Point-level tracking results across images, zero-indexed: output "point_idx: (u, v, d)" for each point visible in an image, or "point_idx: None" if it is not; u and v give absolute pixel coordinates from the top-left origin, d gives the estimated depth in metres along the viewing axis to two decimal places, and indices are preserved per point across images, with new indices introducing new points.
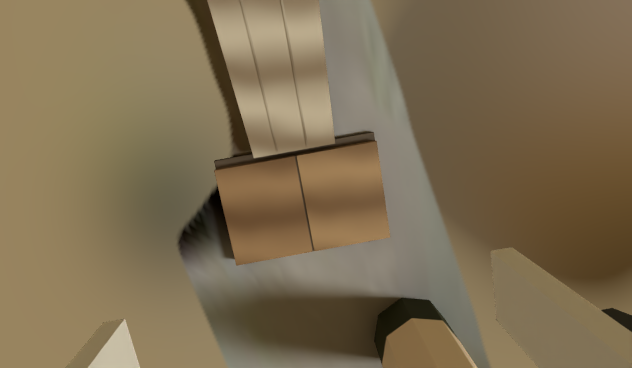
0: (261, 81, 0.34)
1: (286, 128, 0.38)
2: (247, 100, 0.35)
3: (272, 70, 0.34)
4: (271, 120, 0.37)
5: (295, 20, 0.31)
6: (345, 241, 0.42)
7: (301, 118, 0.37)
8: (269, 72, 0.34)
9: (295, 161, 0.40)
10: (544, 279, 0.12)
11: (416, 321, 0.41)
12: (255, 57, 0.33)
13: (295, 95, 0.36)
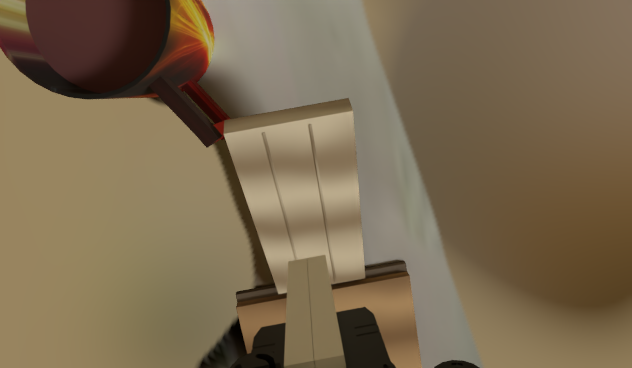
0: (290, 233, 0.32)
1: None
2: (274, 249, 0.33)
3: (303, 224, 0.31)
4: None
5: (330, 183, 0.29)
6: None
7: (331, 260, 0.35)
8: (299, 226, 0.31)
9: None
10: (321, 282, 0.14)
11: None
12: (285, 215, 0.30)
13: (326, 243, 0.33)
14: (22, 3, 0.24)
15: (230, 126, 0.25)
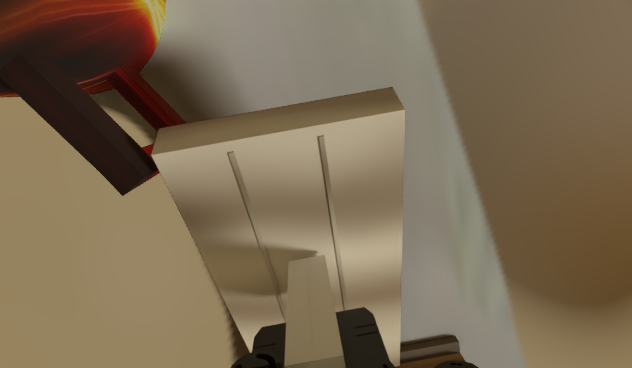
0: (286, 313, 0.19)
1: None
2: None
3: None
4: None
5: (355, 238, 0.17)
6: None
7: None
8: None
9: None
10: (321, 283, 0.14)
11: None
12: (277, 287, 0.18)
13: None
14: None
15: (167, 140, 0.13)
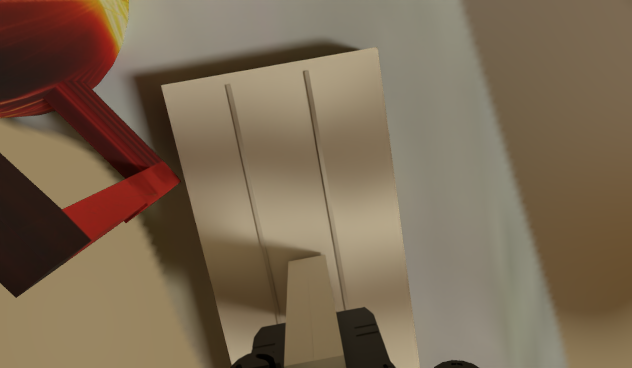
0: (280, 319, 0.17)
1: None
2: None
3: None
4: None
5: (348, 203, 0.16)
6: None
7: None
8: None
9: None
10: (321, 282, 0.14)
11: None
12: (270, 273, 0.17)
13: None
14: None
15: None
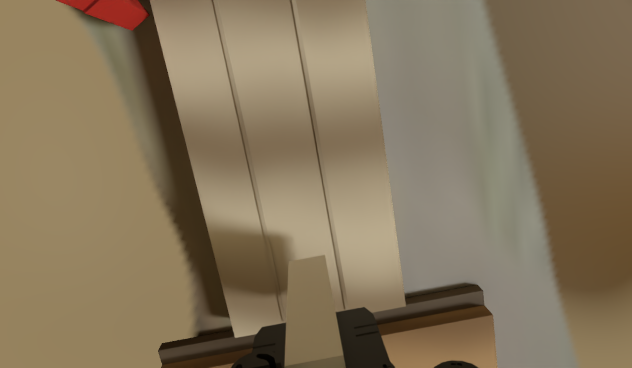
0: (252, 163, 0.17)
1: None
2: (223, 205, 0.17)
3: (274, 140, 0.17)
4: (271, 251, 0.18)
5: (319, 34, 0.16)
6: None
7: (334, 247, 0.18)
8: (267, 144, 0.17)
9: None
10: (321, 282, 0.14)
11: None
12: (240, 112, 0.16)
13: (321, 196, 0.17)
14: None
15: None
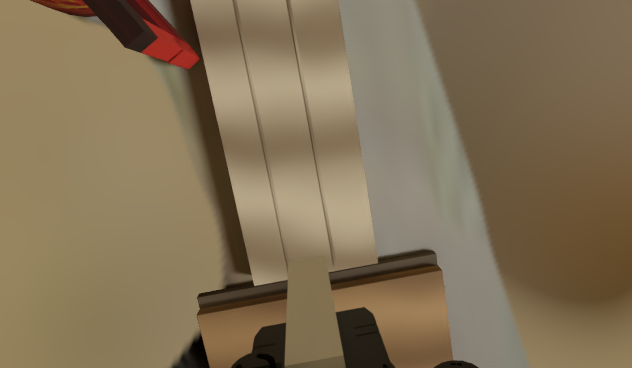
0: (268, 158, 0.24)
1: (303, 234, 0.25)
2: (247, 188, 0.25)
3: (283, 142, 0.24)
4: (281, 221, 0.25)
5: (314, 70, 0.23)
6: None
7: (325, 218, 0.25)
8: (278, 145, 0.24)
9: None
10: (321, 283, 0.14)
11: None
12: (260, 122, 0.24)
13: (316, 182, 0.25)
14: None
15: None
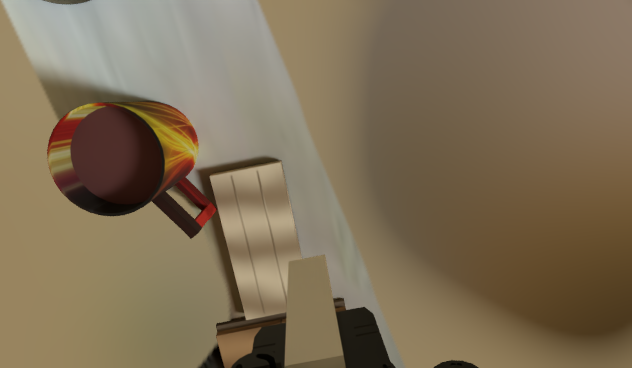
0: (251, 256, 0.48)
1: (271, 293, 0.49)
2: (241, 271, 0.48)
3: (259, 248, 0.47)
4: (259, 287, 0.48)
5: (274, 213, 0.47)
6: None
7: (282, 285, 0.48)
8: (257, 250, 0.47)
9: None
10: (321, 283, 0.14)
11: None
12: (247, 239, 0.47)
13: (277, 267, 0.48)
14: (68, 150, 0.37)
15: (214, 174, 0.46)
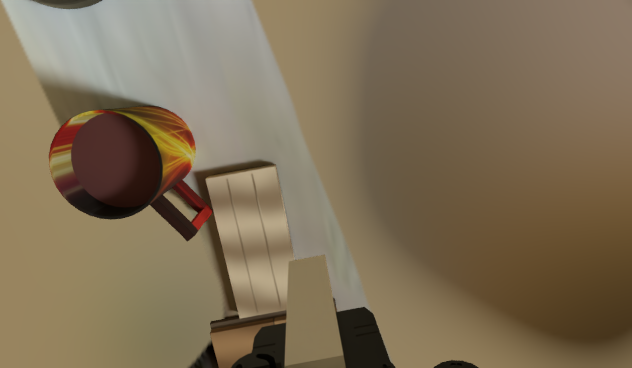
0: (245, 257, 0.49)
1: (264, 293, 0.50)
2: (235, 271, 0.49)
3: (253, 249, 0.49)
4: (252, 286, 0.50)
5: (268, 216, 0.48)
6: None
7: (275, 285, 0.50)
8: (251, 251, 0.49)
9: None
10: (321, 283, 0.14)
11: None
12: (241, 240, 0.48)
13: (270, 267, 0.49)
14: (69, 154, 0.38)
15: (210, 177, 0.47)
